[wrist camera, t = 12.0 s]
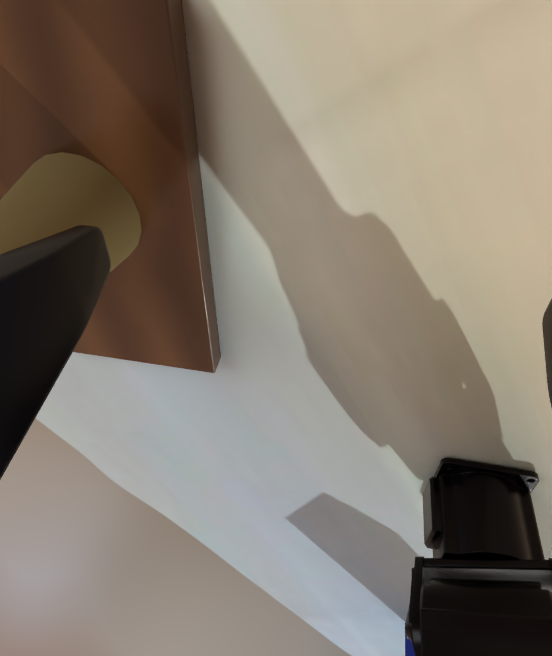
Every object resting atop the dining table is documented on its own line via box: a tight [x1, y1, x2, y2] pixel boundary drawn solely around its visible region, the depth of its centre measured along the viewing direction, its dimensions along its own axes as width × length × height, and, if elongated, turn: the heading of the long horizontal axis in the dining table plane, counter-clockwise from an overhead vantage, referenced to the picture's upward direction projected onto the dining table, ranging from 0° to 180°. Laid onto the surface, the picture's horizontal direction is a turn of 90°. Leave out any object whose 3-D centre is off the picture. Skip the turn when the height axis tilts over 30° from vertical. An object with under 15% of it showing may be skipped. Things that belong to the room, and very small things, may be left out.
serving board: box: [0, 0, 221, 373], centre depth 25 cm, size 12×20×2 cm, turn 0°
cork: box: [0, 152, 141, 272], centre depth 20 cm, size 6×6×11 cm
